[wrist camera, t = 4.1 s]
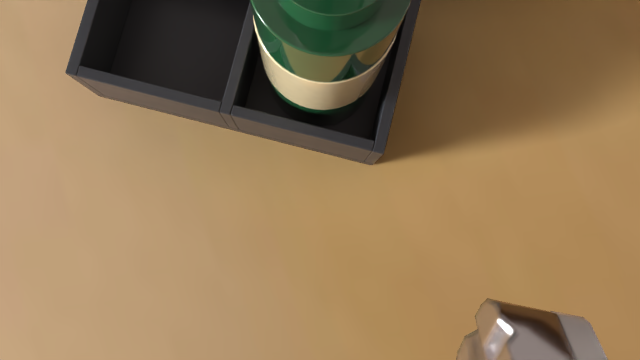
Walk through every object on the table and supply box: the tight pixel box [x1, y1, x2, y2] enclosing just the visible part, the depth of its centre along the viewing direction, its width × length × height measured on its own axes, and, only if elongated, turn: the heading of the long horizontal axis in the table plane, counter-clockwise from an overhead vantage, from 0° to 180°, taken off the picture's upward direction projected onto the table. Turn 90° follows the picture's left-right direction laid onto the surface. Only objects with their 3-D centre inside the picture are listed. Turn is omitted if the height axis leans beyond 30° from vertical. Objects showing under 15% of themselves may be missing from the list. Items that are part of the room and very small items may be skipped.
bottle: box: [250, 0, 411, 126], centre depth 24 cm, size 6×6×19 cm
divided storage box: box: [66, 0, 421, 165], centre depth 32 cm, size 17×9×5 cm, turn 76°
